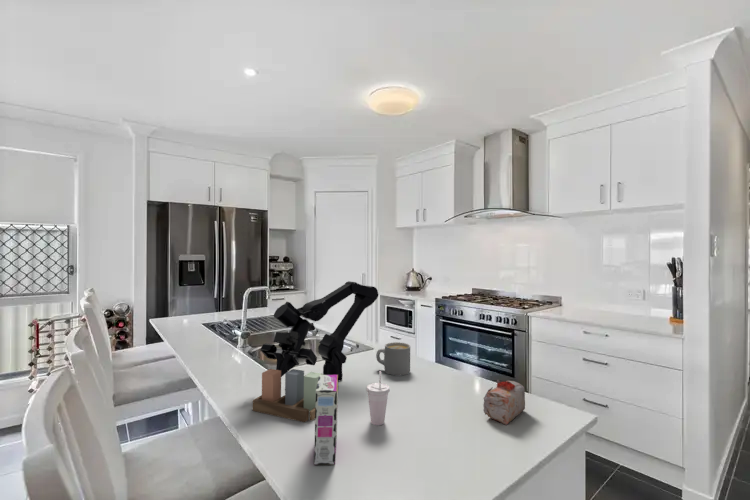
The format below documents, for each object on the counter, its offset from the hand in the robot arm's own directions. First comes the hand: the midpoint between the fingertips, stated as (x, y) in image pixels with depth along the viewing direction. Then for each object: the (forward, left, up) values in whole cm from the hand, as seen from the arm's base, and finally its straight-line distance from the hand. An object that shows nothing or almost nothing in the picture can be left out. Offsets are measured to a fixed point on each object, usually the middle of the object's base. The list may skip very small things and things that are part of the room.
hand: (276, 378), depth 112 cm
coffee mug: (-39, -28, -7) cm, 49 cm away
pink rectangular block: (+1, +2, -7) cm, 8 cm away
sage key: (-12, +5, -7) cm, 15 cm away
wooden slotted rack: (-5, +5, -7) cm, 10 cm away
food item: (-68, +11, -7) cm, 69 cm away
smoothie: (-30, +14, -7) cm, 34 cm away
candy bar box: (-17, +28, -7) cm, 34 cm away
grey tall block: (-6, +3, -7) cm, 10 cm away
